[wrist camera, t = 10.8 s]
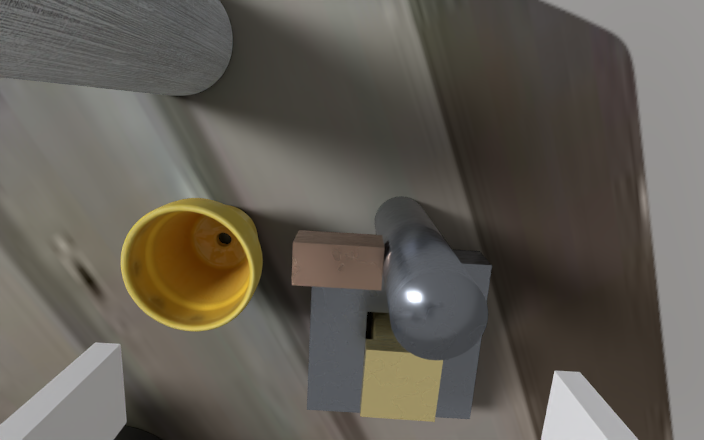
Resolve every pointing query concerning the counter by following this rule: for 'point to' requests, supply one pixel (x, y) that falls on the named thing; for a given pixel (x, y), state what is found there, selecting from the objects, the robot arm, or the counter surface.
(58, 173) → the counter surface
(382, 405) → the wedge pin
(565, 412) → the robot arm
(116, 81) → the vase
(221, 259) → the plant pot
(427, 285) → the gray post stand
